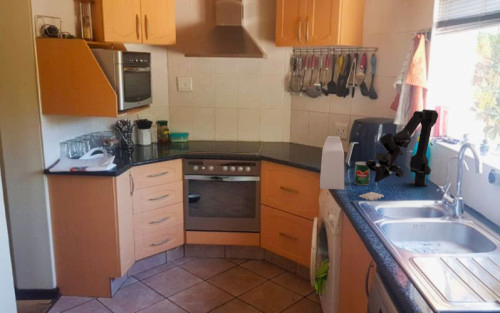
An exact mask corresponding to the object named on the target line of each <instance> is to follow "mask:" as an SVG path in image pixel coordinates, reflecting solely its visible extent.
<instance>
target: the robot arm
mask: <svg viewBox="0 0 500 313" xmlns="http://www.w3.org/2000/svg"><path fill="white" fill-rule="evenodd" d="M438 118H439V112H437V110H434V109H426V108H424V109H422V110H414V112H413V114H412V116H411V118H410V119H409V120H408V122H407V124H405V126H404V128H403V129H402V130H400V131H398V132H397V133H395V135H393V133H391V132H388V133H387V134H385V135H383V136H382V137H380V139H379V141H380V143H381V145H382V147H383V148H384V150H385V151H386V153H383V152H382V153H381V152H375V155H374V158H373V159H374V160H372V159H366V161H365V162H366V163H365V164H366V165H367V167H368V168H369V169H370V171H372V172H375V175H374V181H373V182H374V183H376V184H377V183H379V182H380V181H382V180H384V179H385V178H388V177H391V174H392V173H395V176H396V177H397V178H398V177H399V178H402V177H403V175H404V171H403V169H402V168H401V166H400V165H396V164H397V159H399V157H400V156H404V152H403V149H405V148H408V147H409V145H410V144H411V141H412V138H411V137H412V136H413V133H414V132H415V131H416V129H417V128H418V126H419V125H420V126H421V127H420V133H419V138H418V143H417V147H416V152H415V154H414V155H411V157H410V161H409V169H410V172H411V173H414V178H413V181H412V182H411V183H412V184H413V186H417V187H420V186H421V187H422V186H424V187H428V184H427V183H426V182H427V181H426V179H427V176H429V175H430V174H431V171H432V170H431V168H430V166H429V159H428V156H427V154H428V153H427V152H428V147H429V143H430V137H431V132H432V128H433V127H434V126H435V124H436V123H437V121H438ZM401 148H403V149H401ZM375 160H377V162H376V161H375Z"/></svg>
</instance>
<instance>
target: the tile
mask: <svg viewBox="0 0 500 313" xmlns="http://www.w3.org/2000/svg"><path fill="white" fill-rule="evenodd" d="M361 197H362V198H361ZM381 197H383V198H385V197H384V194H380V193H377V192H373V191H370V192H367V193H363V194H359V198H361V199H364V198H365V199H364V200H368V199H369V200H368V201H371V200H372V201H375V200H379V199H382V198H381ZM378 198H379V199H378ZM374 199H375V200H374Z"/></svg>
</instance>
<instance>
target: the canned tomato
mask: <svg viewBox="0 0 500 313" xmlns="http://www.w3.org/2000/svg"><path fill="white" fill-rule="evenodd" d="M365 163H366V161H355V162H354V176H353V177H354V178H353V179H354V182H353V184H354V185H358V186H368V185H370V179H371V178H370V175H371V170H370V169H369V168H368V167H367V165H366V164H365Z"/></svg>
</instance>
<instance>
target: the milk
mask: <svg viewBox="0 0 500 313" xmlns="http://www.w3.org/2000/svg"><path fill="white" fill-rule="evenodd" d="M321 151H322V152H321V154H322V155H321V167H320V177H319V178H320V179H319V188H320V189H321V190H345V152H344V147H343V143H342V139H341V136H327V137H326V139H325V141H324V144H323V147H322V150H321Z"/></svg>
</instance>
